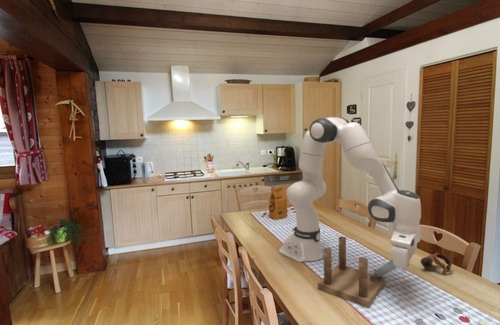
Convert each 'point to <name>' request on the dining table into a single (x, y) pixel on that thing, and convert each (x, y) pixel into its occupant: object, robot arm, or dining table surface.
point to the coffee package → (278, 204)
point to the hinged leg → (384, 269)
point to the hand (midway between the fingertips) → (405, 269)
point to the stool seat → (350, 278)
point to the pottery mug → (436, 262)
